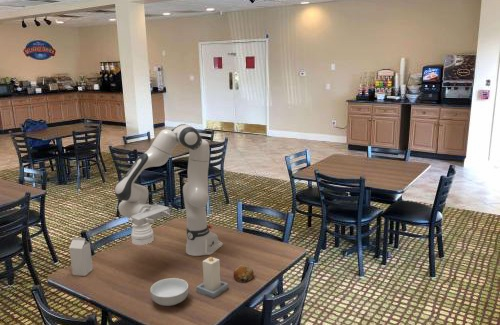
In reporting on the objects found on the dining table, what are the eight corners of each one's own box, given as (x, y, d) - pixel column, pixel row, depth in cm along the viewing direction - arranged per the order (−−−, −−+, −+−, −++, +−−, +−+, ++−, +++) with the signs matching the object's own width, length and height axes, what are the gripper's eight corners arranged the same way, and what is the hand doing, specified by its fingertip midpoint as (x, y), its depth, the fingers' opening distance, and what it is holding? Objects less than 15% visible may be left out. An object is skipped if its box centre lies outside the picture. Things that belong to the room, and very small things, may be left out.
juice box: (211, 283, 201) (210, 254, 198) (220, 287, 198) (219, 257, 195) (204, 288, 197) (202, 258, 194) (212, 292, 194) (211, 261, 190)
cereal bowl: (188, 310, 182) (187, 295, 180) (148, 313, 181) (147, 298, 179) (190, 290, 198) (189, 276, 197) (154, 292, 197) (153, 278, 196)
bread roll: (255, 282, 211) (257, 266, 212) (249, 283, 201) (251, 266, 203) (236, 279, 214) (238, 263, 215) (229, 280, 204) (231, 263, 206)
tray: (211, 282, 205) (211, 277, 204) (228, 288, 199) (228, 283, 198) (196, 291, 197) (196, 286, 196) (213, 298, 191) (213, 293, 190)
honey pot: (127, 243, 252) (124, 214, 248) (140, 235, 264) (137, 207, 260) (145, 246, 248) (143, 217, 244) (157, 237, 259) (155, 209, 255)
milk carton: (85, 276, 214) (80, 241, 209) (72, 275, 215) (68, 240, 211) (93, 269, 221) (89, 235, 216) (80, 268, 222) (76, 234, 218)
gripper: (125, 213, 205) (144, 218, 197) (157, 202, 221) (176, 206, 213) (126, 225, 207) (145, 231, 199) (158, 213, 223) (177, 218, 215)
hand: (161, 218), depth 206 cm, fingers open, 8 cm apart
